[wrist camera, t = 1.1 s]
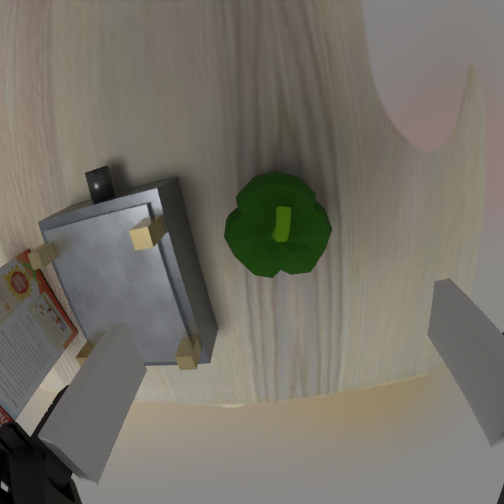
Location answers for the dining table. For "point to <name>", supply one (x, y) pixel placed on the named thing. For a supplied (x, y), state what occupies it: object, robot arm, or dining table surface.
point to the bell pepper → (277, 226)
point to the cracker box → (27, 334)
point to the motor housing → (132, 270)
